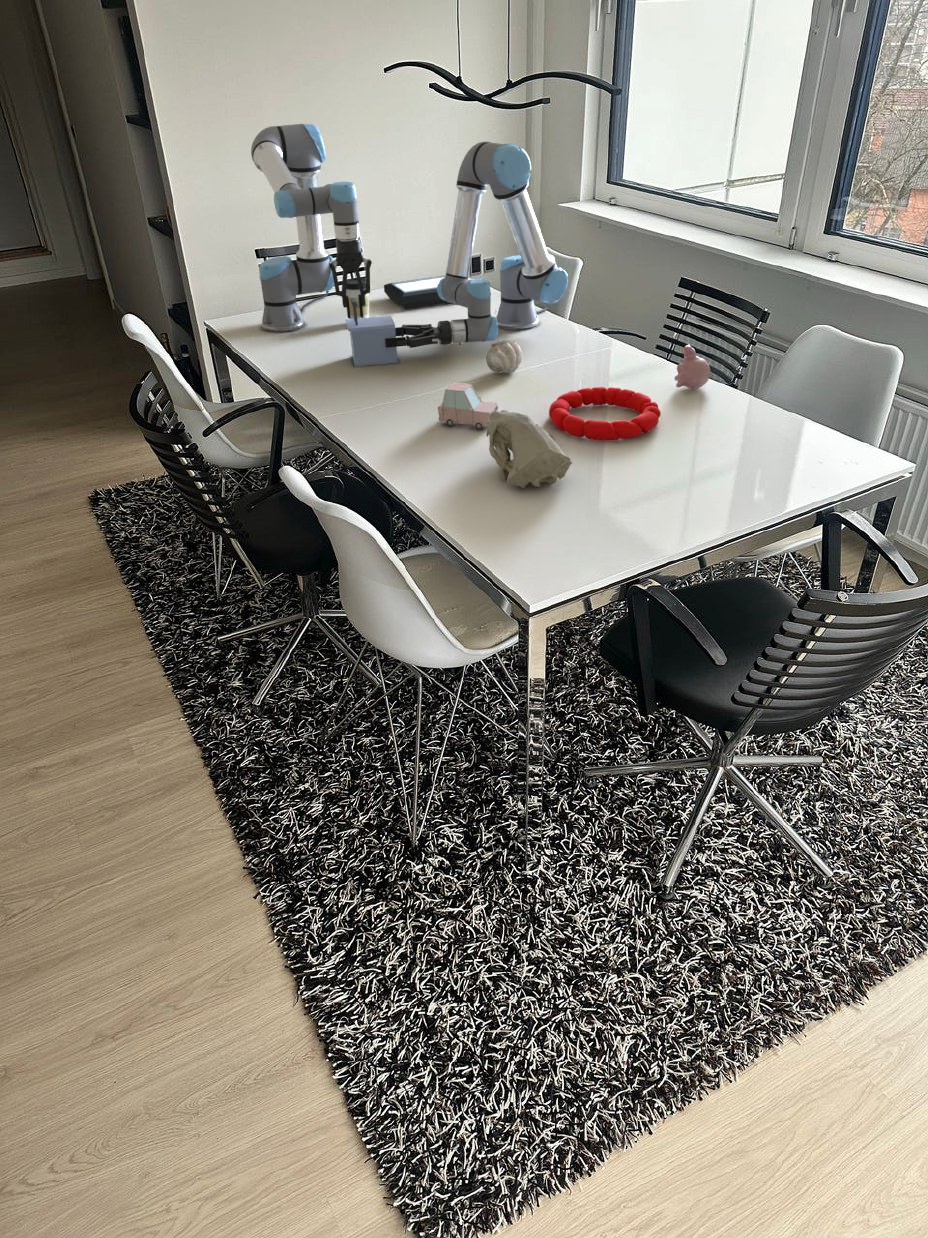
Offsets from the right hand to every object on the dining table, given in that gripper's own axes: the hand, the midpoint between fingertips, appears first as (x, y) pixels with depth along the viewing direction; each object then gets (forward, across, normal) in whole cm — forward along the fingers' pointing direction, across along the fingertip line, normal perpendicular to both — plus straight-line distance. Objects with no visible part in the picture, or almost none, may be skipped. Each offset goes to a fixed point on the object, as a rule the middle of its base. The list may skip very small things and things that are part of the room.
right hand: (383, 337), depth 290 cm
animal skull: (-22, -94, -7) cm, 97 cm away
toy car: (-16, -62, -7) cm, 64 cm away
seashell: (-35, -24, -7) cm, 43 cm away
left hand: (+8, 0, +8) cm, 11 cm away
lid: (+4, 0, +5) cm, 6 cm away
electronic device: (-26, +66, -7) cm, 71 cm away
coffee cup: (+4, +42, -7) cm, 43 cm away
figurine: (-84, -52, -7) cm, 100 cm away
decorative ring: (-52, -70, -7) cm, 88 cm away
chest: (+3, 0, -7) cm, 8 cm away
